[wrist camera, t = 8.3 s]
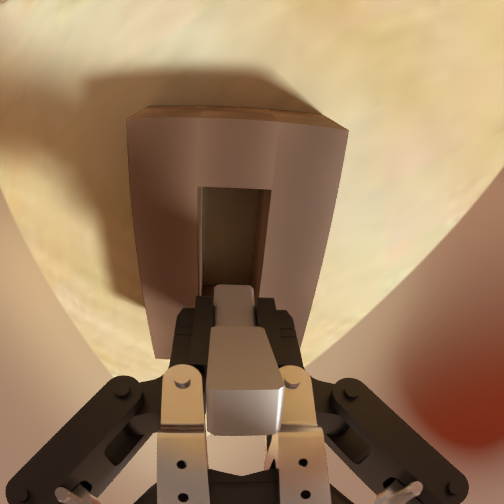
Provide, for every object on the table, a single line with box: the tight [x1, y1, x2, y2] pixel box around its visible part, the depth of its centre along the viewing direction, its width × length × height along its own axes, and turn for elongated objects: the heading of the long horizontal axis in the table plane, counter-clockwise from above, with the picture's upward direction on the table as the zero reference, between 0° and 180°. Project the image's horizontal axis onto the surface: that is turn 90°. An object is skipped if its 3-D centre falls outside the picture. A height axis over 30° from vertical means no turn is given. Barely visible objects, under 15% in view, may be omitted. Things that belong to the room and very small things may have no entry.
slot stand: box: [127, 106, 349, 359], centre depth 18 cm, size 9×15×4 cm, turn 176°
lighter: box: [206, 284, 285, 436], centre depth 11 cm, size 7×2×8 cm, turn 176°
